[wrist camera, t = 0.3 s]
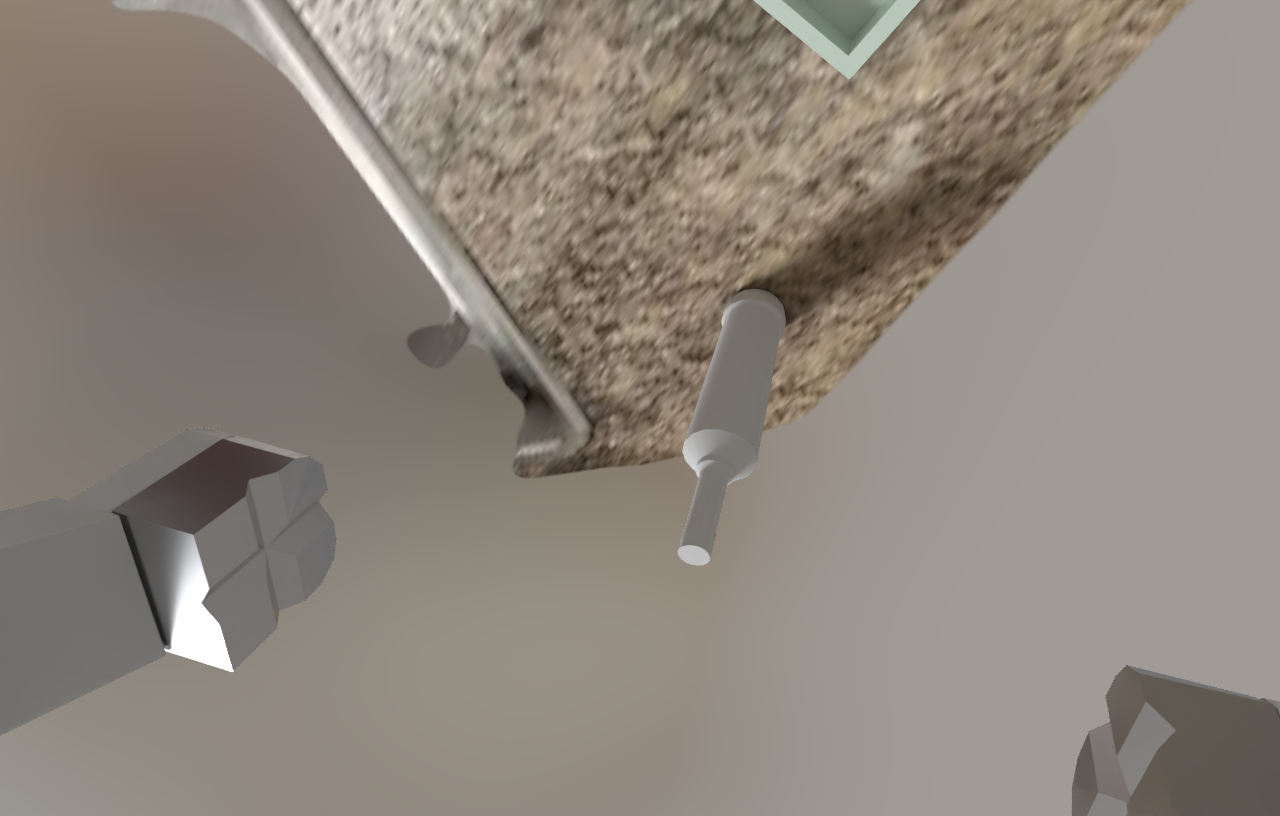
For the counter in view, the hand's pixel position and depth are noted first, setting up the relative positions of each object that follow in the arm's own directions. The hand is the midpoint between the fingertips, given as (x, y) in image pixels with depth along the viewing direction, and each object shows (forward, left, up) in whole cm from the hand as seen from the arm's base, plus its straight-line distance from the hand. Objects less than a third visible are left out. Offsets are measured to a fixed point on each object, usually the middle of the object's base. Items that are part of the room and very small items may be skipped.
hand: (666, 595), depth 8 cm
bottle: (+31, +16, -50) cm, 61 cm away
